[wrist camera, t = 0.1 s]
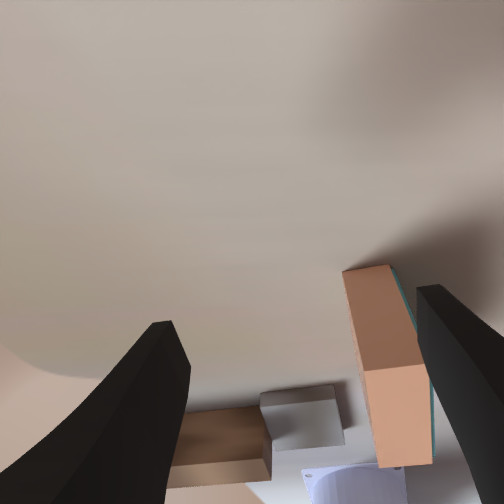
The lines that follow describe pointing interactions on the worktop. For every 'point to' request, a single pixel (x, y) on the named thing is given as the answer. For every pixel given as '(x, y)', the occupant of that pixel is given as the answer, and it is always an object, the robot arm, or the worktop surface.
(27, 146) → the worktop surface
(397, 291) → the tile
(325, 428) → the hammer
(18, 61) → the worktop surface
